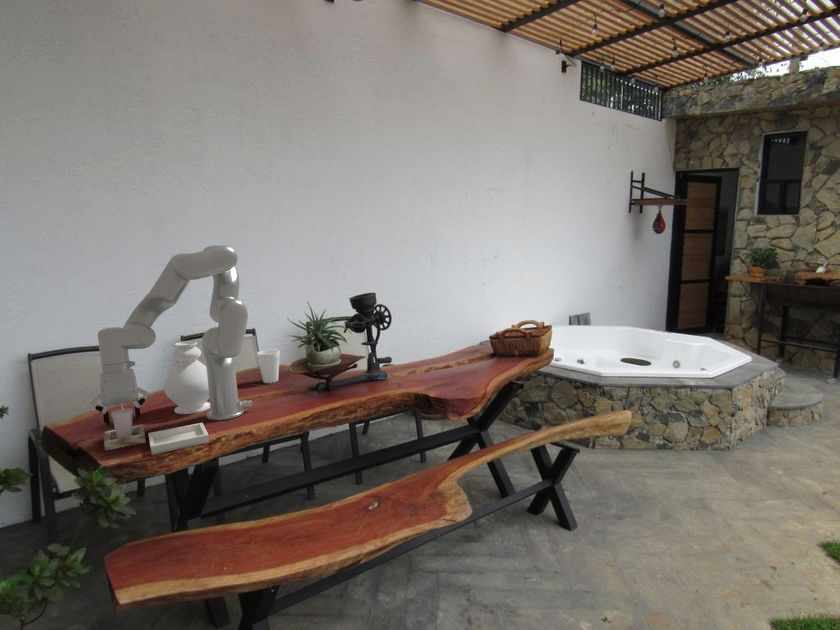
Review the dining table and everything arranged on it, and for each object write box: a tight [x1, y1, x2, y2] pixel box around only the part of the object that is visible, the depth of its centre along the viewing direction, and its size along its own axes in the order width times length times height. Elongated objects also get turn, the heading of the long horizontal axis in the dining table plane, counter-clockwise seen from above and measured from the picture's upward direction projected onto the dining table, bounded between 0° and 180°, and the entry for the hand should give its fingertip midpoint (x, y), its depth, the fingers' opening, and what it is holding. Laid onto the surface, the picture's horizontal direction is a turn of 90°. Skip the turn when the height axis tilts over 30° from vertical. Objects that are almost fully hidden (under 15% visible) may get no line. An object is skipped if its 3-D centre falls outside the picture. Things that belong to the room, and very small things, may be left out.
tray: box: [147, 422, 210, 456], centre depth 164 cm, size 16×13×2 cm
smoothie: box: [109, 403, 135, 439], centre depth 165 cm, size 6×6×14 cm
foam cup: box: [256, 349, 281, 384], centre depth 229 cm, size 10×9×13 cm
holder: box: [103, 424, 147, 451], centre depth 166 cm, size 11×11×2 cm
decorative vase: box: [163, 340, 210, 415], centre depth 194 cm, size 18×18×25 cm
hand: (123, 421), depth 165 cm, fingers open, 7 cm apart
